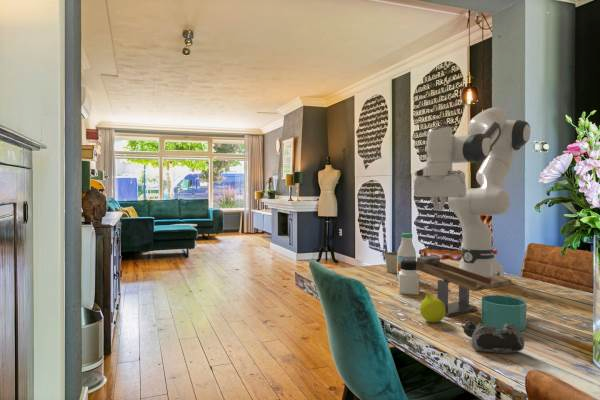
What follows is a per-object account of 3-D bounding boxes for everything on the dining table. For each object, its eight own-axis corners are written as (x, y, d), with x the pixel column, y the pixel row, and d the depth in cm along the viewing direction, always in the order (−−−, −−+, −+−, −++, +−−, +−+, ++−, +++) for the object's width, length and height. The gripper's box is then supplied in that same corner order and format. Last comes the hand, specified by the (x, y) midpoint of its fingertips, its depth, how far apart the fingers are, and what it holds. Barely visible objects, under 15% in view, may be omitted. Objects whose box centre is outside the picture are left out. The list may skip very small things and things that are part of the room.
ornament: (416, 318, 122) (416, 284, 121) (439, 317, 122) (439, 284, 122) (425, 326, 114) (425, 290, 114) (449, 325, 115) (450, 290, 115)
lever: (451, 266, 147) (453, 252, 147) (510, 285, 129) (512, 270, 129) (415, 271, 137) (417, 257, 137) (473, 294, 119) (476, 277, 118)
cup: (496, 316, 123) (496, 293, 123) (533, 326, 114) (534, 302, 114) (473, 322, 117) (473, 298, 117) (511, 334, 108) (512, 308, 108)
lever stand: (457, 304, 136) (458, 274, 136) (476, 309, 130) (477, 278, 130) (429, 311, 129) (430, 279, 128) (448, 316, 123) (448, 283, 123)
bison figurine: (527, 358, 93) (510, 340, 103) (527, 328, 93) (511, 313, 103) (472, 356, 95) (461, 338, 105) (472, 326, 94) (461, 311, 104)
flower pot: (380, 270, 195) (381, 252, 195) (399, 269, 196) (400, 251, 196) (387, 274, 185) (387, 255, 185) (407, 273, 186) (407, 255, 186)
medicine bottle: (419, 294, 149) (419, 262, 148) (399, 293, 150) (399, 261, 150) (417, 290, 156) (418, 259, 155) (398, 289, 157) (398, 258, 157)
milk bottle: (393, 279, 174) (393, 232, 174) (408, 278, 177) (408, 232, 177) (404, 283, 167) (405, 234, 167) (419, 281, 170) (420, 233, 170)
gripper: (470, 170, 139) (470, 211, 139) (422, 172, 156) (422, 208, 156) (458, 169, 135) (458, 211, 135) (411, 172, 152) (410, 209, 153)
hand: (438, 210), depth 146 cm, fingers closed
